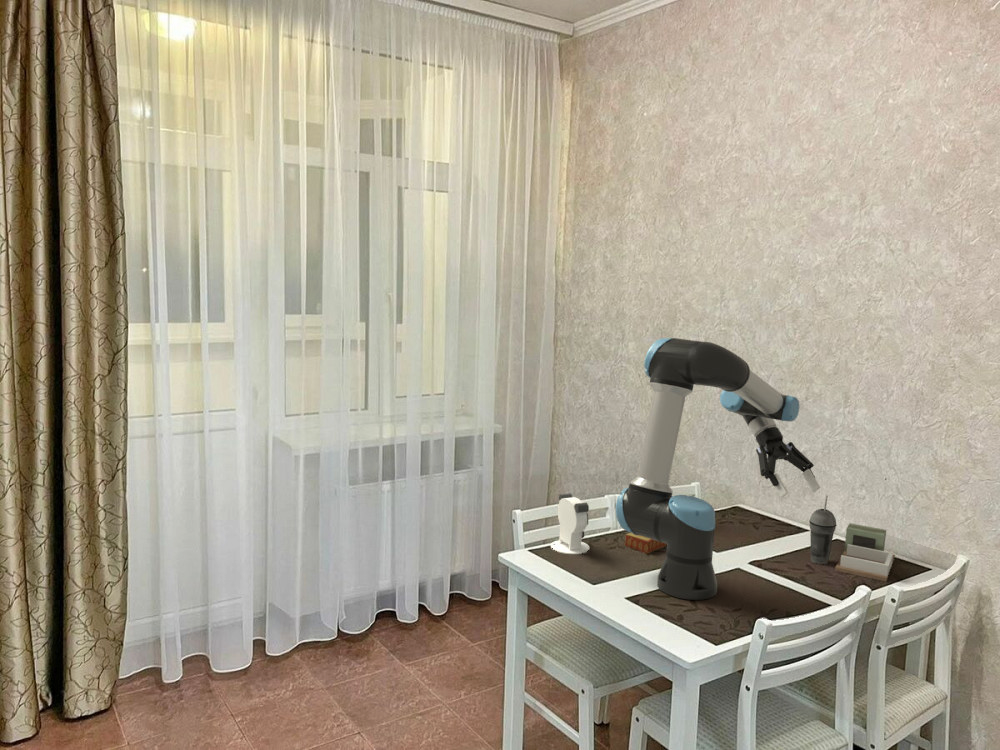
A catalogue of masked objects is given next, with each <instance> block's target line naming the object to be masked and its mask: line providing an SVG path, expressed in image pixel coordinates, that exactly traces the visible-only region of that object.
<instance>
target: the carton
mask: <svg viewBox="0 0 1000 750" xmlns="http://www.w3.org/2000/svg"><path fill="white" fill-rule="evenodd" d="M624 538H625V540H624V547H625V546H627V547H626V548H628V547H630V548H629V549H631V548H633V549H632V550H634V549H636V550H635V551H637V550H639V552H640V551H642V552H641V553H643V552H644V554H646V553H648V554H651V553H652V551H653V552H655V551H657V549H658V550H659V548H660V549H662V548H664V546H665V547H667V546H666V545H667V544H666V543H663V542H659V541H656V540H653V539H650V538H646V537H643V536H640V535H634V534H633V533H631V532H628V533H626V534H625V537H624ZM661 547H662V548H661ZM654 550H655V551H654Z"/></svg>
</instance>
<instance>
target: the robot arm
mask: <svg viewBox="0 0 1000 750" xmlns="http://www.w3.org/2000/svg"><path fill="white" fill-rule="evenodd" d="M643 363H644V364H643V365H644V366H643V367H644V368H645V369H644V372H645V374H646V376H647V377H648V378H649V386H650V387H651V388H652V391H653V392H652V398H651V402H650V403H651V404H650V409H649V413H648V418H647V424H646V428H645V433H644V438H643V444H642V447H641V448H642V449H641V453H640V457H639V464H638V469H637V474H636V477H635V478H634V479H632V480H631V481H629V484H628V487H626V488H624V489H622V490H621V492H620V494H619V495H618V496H617V499H616V503H615V516H616V519H617V522H618V524H619V526H620V527H621V528H622V529H623V530H624V531H626V532H628V533H633V534H634V535H640V536H643V537H646V538H650V539H653V540H656V541H659V542H663V543H666V544H667V546H666V549H665V550H666V553H665V559H664V560H663V563H662V565H661V568H660V570H659V572H658V574H657V575H658V576H657V585H656V586H657V588H658V589H659V590H661V592H662V593H664V594H666V595H668V596H671V597H674V598H679V599H683V600H693V601H694V600H695V601H696V600H697V601H698V600H699V601H700V600H701V601H702V600H707V599H711V598H714V597H715V596H716V595H717V592H718V581H717V577H716V573H715V569H714V565H713V554H714V553H713V552H714V543H715V542H714V541H715V529H716V525H717V524H716V523H717V522H716V512H715V509H714V507H713V506H712V504H710V503H709V502H707V501H706V500H704V499H702V498H699V497H696V496H693V495H692V496H691V495H689V496H688V495H686V494H676V495H673V490H672V488H671V486H670V484H669V483H670V482H669V481H670V477H671V472H672V468H673V463H674V458H675V454H676V453H675V452H676V448H677V442H678V437H679V432H680V426H681V421H682V416H683V412H684V405H685V402H686V398H687V396H689V395H690V394H692V393H693V390H694V385H695V386H705V387H712V388H718V389H720V390H722V391H721V393H720V396H719V401H720V404H721V406H722V408H724V409H725V410H727V411H728V412H730V413H731V412H732V413H735V414H737V415H739V416H741V417H743V420H744V422H745V423H746V425H747V426H748V428H749V429H750V432H751V433H752V434H753V436H754V437H755V441H756V442H757V444H758V447H757V448H756V449H755V451H756V453H757V455H758V465H759V471H760V476H762V477H764V478H765V479H766V480H769V481H770V482H771V484H772V486H773V487H774V488H775V490H776V492H777V493H778V496H780V498H783V497H784V496H786V495H787V494H788V493H789V491H788V489H787V487H786V486H785V484H784V483H783V481H782V478H781V477H780V475H779V474H778V473H775V471H776V463H777V461H778V460H784V461H788V462H789V464H792V465H793V466H794V467H796V468H797V469H799V470H800V471H801V472H802V473H801V474H802V476H803V478H804V480H805V481H806V483H807V484H808V486H809V488H810V490H811V492H812V493H816V492H817V491H818V490H819V489H821V486H820V484H819V483H818V481H817V479H816V476H815V475H814V473H813V472H812V469H813V468H814V466H815V464H814V463H813V462H812V461H811V460H809V458H807V456H805V455H804V454H803V453H802V452H801V451H800V450H799V449H798V448H797V447H796V446H795V444H794V443H793V442H792V441H789V442H788V443H787V444H786V443H785V442H784V441H783V439H784V435H783V434H782V432H781V431H780V429H779V427H778V426H777V423H776V422H775V420H776V421H781V422H794V421H796V419H797V417H798V415H799V412H800V401H799V399H798V398H797V396H791V395H789V394H787V395H786V394H782V393H781V392H779V391H778V390H777V389H775V388H774V387H773V386H772V385H770V384H769V383H768V382H766V381H765V380H764V379H763V378H761V377H760V376H758V375H757V374H756V373H755V372H753V371H752V370H751V369H750V366H749V364H748V362H747V361H746V360H744V359H743V358H742V357H740V356H739V355H737V354H736V353H734V352H732V351H731V350H729V349H727V348H726V347H724V346H721V345H720V344H718V343H713V342H710V341H702V340H701V341H700V340H691V339H685V338H677V337H676V338H675V337H672V338H667V337H664V338H663V337H662V338H659V339H657V340H655V341H654V343H652V344H651V345H650V347H649V348H648V350H647V352H646V355H645V359H644V362H643Z"/></svg>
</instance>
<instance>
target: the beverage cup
mask: <svg viewBox="0 0 1000 750" xmlns="http://www.w3.org/2000/svg"><path fill="white" fill-rule="evenodd" d="M827 504H828V495H825V500H824V506H823V508H819V509H816V510H814V511H813V513H811V515H810V518H809V529H810V561H811V562H812V563H814V564H816V563H817V564H816V565H821V564H824V565H828V564H829V563H828V562H829V558H830V555H831V554H830V553H831V549H832V544H833V543H832V542H833V539H834V533H835V531H836V527H837V519H836V516H835V514H834V513H833V512H832V511H830V510H828V509H827Z"/></svg>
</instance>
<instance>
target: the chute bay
mask: <svg viewBox="0 0 1000 750" xmlns="http://www.w3.org/2000/svg"><path fill="white" fill-rule="evenodd" d="M846 555H850V556H855V557H860V558H864V559H869V560H874V561H879V562H884V563H885V564H883V563H878V562H873V561H868V560H864V559H859V558H854V557H849V556H844V555H842V554H841V556H840V558H841V562H840V566H841V567H846V568H851V569H855V570H860V571H865V572H869V573H874V574H879V575H883V576H888V573H889V570H890V568H891V569H892V567H891V565H892V560H893V555H894V552H889V551H885V550H884V551H881V550H875V549H870V548H865V547H860V546H855V545H850V544H848V545H847V554H846ZM892 566H893V565H892ZM890 571H891V570H890ZM889 574H890V573H889ZM888 577H889V576H888Z"/></svg>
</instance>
